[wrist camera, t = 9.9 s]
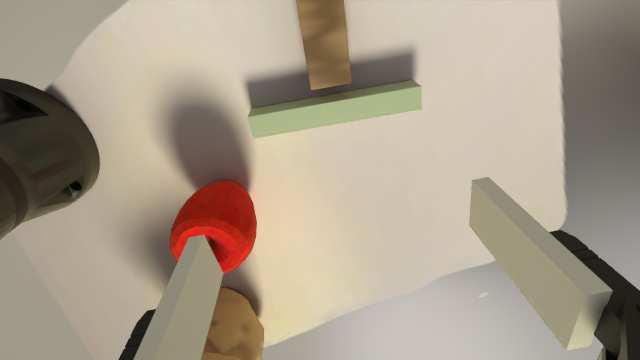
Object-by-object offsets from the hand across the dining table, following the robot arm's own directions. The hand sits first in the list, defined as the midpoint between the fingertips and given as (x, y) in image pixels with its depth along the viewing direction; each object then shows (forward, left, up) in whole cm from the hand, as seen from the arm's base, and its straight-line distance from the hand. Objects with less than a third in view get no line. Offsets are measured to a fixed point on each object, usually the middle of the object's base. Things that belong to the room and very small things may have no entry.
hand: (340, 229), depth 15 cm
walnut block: (+1, +2, -21) cm, 21 cm away
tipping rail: (+1, 0, -22) cm, 22 cm away
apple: (-14, -10, -23) cm, 28 cm away
